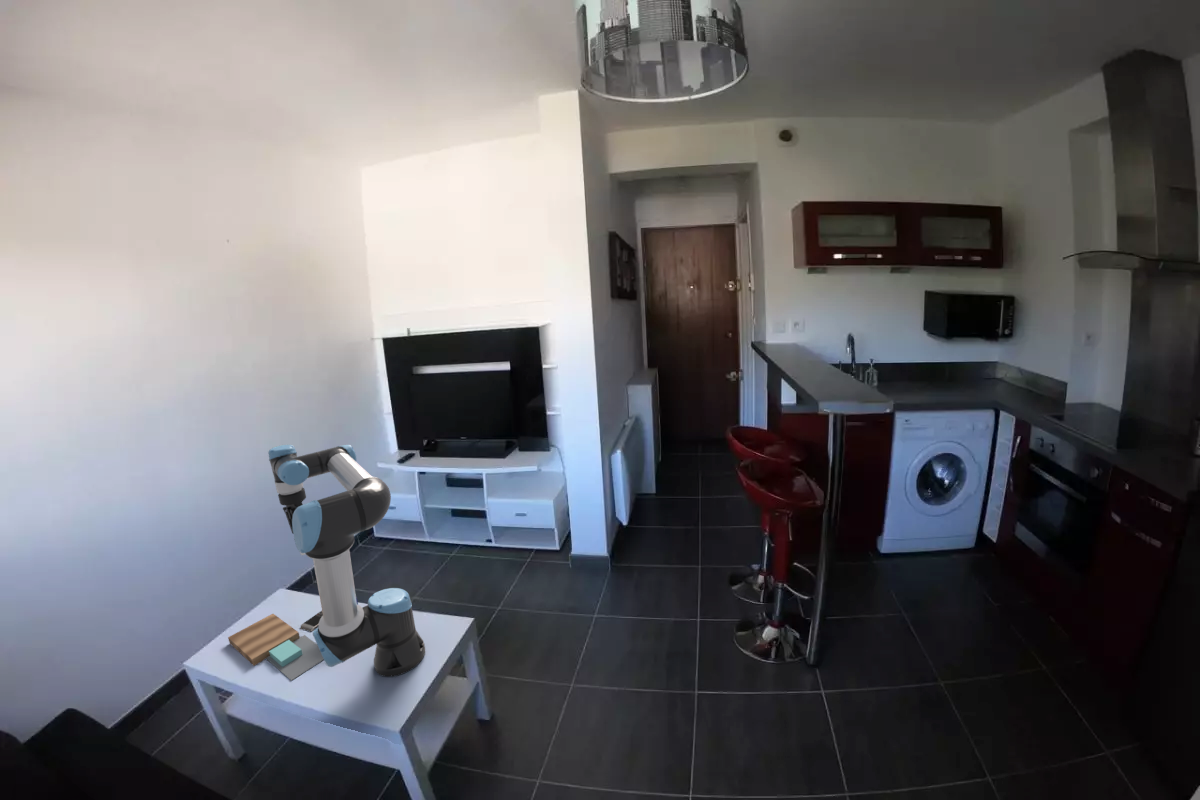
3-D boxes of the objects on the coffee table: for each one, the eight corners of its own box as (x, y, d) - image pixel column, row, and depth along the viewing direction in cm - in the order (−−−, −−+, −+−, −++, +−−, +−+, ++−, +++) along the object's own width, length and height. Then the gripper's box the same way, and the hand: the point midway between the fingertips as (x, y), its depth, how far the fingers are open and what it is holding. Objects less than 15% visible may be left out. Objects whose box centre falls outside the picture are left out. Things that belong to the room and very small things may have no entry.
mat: (331, 655, 153) (330, 654, 153) (291, 681, 144) (291, 680, 144) (304, 635, 163) (304, 635, 163) (266, 658, 154) (265, 657, 154)
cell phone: (339, 613, 175) (338, 609, 175) (311, 633, 165) (310, 629, 165) (327, 609, 177) (327, 606, 177) (299, 629, 167) (298, 626, 167)
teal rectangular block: (302, 654, 154) (301, 649, 154) (282, 667, 149) (281, 661, 149) (290, 644, 159) (288, 639, 158) (270, 656, 154) (268, 651, 154)
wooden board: (300, 638, 162) (298, 632, 161) (253, 666, 151) (252, 659, 150) (274, 619, 173) (273, 613, 172) (229, 643, 162) (227, 637, 161)
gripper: (312, 489, 156) (326, 552, 162) (293, 483, 163) (307, 543, 169) (288, 498, 150) (303, 563, 156) (269, 491, 157) (284, 553, 163)
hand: (305, 553), depth 162 cm, fingers closed
